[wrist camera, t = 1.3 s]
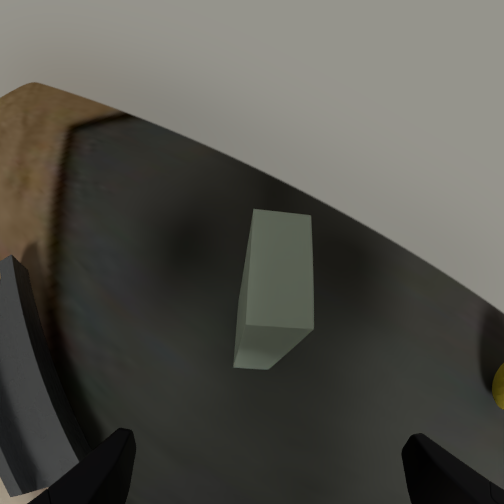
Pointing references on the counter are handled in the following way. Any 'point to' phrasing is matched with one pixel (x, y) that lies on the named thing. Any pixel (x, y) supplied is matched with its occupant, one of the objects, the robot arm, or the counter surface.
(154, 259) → the counter surface
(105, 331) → the counter surface
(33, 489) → the track
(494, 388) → the lemon
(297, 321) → the door panel
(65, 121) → the counter surface
